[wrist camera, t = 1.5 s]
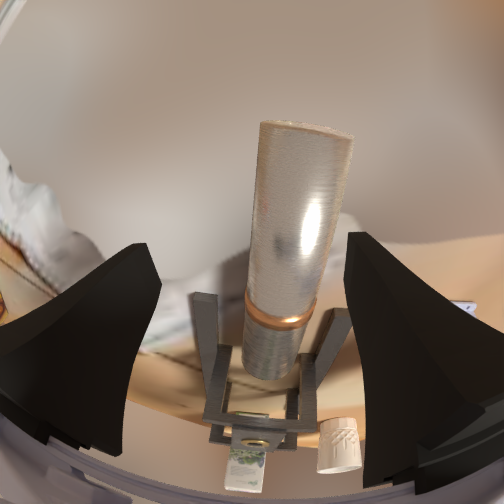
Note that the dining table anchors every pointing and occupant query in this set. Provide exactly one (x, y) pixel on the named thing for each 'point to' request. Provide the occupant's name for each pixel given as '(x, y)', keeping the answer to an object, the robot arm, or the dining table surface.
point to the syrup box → (245, 467)
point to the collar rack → (297, 400)
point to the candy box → (2, 310)
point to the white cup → (338, 446)
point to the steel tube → (290, 237)
